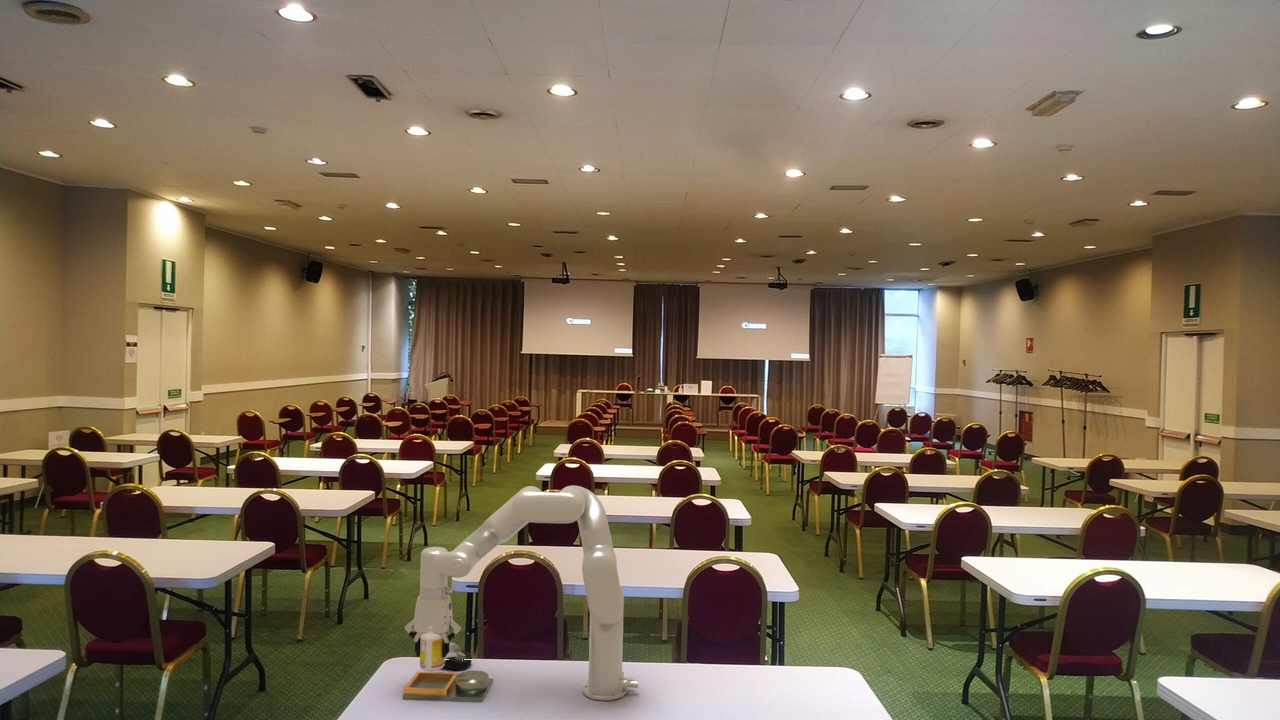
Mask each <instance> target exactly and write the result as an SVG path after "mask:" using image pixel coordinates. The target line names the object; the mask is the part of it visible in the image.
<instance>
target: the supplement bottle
mask: <svg viewBox="0 0 1280 720" xmlns="http://www.w3.org/2000/svg"><path fill="white" fill-rule="evenodd" d="M427 629H428V630H432V629H433V628H432V626H429V627H428V628H427ZM443 643H444V640H443V637H442V635H441V634H437V633H433V632H432V631H429V632H428V633H422V634H421V636H420V656H419V668H420V669H421V670H422V672H438V671H440V670H442V669H443V668H444V667H445V666H444V657H442V645H443Z"/></svg>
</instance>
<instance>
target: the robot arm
mask: <svg viewBox="0 0 1280 720" xmlns="http://www.w3.org/2000/svg"><path fill="white" fill-rule="evenodd" d="M576 521H577V524H578V528H579V530H578V531H579V535H580V540H581V544H582V545H581V546H582V552H583V554H582V555H583V557H582V563H581V572H582V578H583V579H582V580H583V586H584V590H585V595H586V600H587V606H588V610H589V637H588V641H589V642H588V644H589V645H588V647H589V650H588V651H589V652H588V681H587V682H586V683H584V685H583V686H582V693H583V694H584V695H585V696H586V697H587V698H590V699H592V700H595V701H602V702H603V701H606V702H607V701H615V700H619V699H621V698H623V697H624V696H625V695H627V693H628V688H631V689H638V683H639V682H638V680H635V678H633V677H626V676H624V672H623V647H624V644H623V643H624V642H623V641H624V638H623V637H624V609H625V606H624V604H625V603H624V602H625V596H624V591H623V588H622V586H621V583H620V579H619V578H620V577H619V574H618V573H619V572H618V566H617V564H618V563H617V562H618V561H617V556H616V553H615V549H614V545H613V541H612V535H611V530H610V526H609V521H608V516H607V513H606V510H605V506H604V505H603V504H602V502H601V500H600V498H599V497H598V496H597V495H596V494H594V492H592V490H590V489H588V488H585V487H582V486H581V485H567V486H565V487H564V488H562V489H561V490H560V491H559V492H558V491H557V492H556V491H555V492H548V491H546V492H545V491H544V492H543V491H542V490H541V489H540V488H539V487H537V486H533V485H528V486H525V487H523V488H521V489H520V490H519V491H518V492H517V493H515V495H513V496H512V497H511V498H510V499H508V501H506V502H505V503H503V505H502V506H501V507H499V508H498V509H496V510H495V511H494V513H492V514H491V515H490V516H489V517H488V518H486V520H485V521H484V522H483V523H482V524H481V525H480V526H479V527H478V528H477V529H475V530H474V531H473V532H472V533H471V534H470V535H469V536H467V537H466V538H465V539H464V540H463V541H462V542H461V543H459V545H457V546H455V548H454V549H453V550H451V551H448V549H447V548H445V547H443V546H442V547H441V546H429V547H426V548H424V549H423V550H422V551H421V553H420V571H419V572H420V575H419V577H420V578H419V580H420V581H419V595H418V596H417V599H416V603H415V609H414V618H413V619H412V620H411V621H409V622H408V623H407V624H406V625H405V626H404V630H405V631H406V632H407V634H408V635H409V636H410V637H411V638H412V640H413V642H414V652H415V653H416V654H415V655H416V657H420V636H421V634H422V633H428V632H429V631H432V632H433V633H437V634H441V635H442V637H443V640H444V643H443V645H442V657H446V655H447V654H448V653H449V650H450V642H451V640H452V639H453V638H455V636H456V635H457V634H458V633H459V632H460V631H461V630H462V627H461V626H460V625H459V624H458V623H457V622H456V621H455V620H454V619H453V617H454V616H453V605H452V604H453V603H452V598H451V596H450V595H449V594H452V593H453V588H451V587H449V585H448V580H449V579H448V577H451V578H458V579H459V578H464V577H466V576H468V575H469V574H470V573H471V571H472V570H473V569H474V567H475V566H476V564H477V563H479V562H480V561H481V560H482V559H483V558H484V557H486V556H487V555H488V554H489V553H490V552H492V550H493V549H495V548H497V546H499V545H500V544H503V543H506V542H507V541H509V540H510V539H512V538H513V537H514V536H515V535H516V534H517V533H519V531H520V530H522V529H523V528H524V527H525V526H527V525H528V524H529V523H534V524H535V523H536V524H572V523H575V522H576ZM429 626H432V628H433V629H432V630H428V629H427V628H428V627H429ZM450 629H453V631H452V632H451V633H450V631H449V630H450Z"/></svg>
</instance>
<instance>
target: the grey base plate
mask: <svg viewBox="0 0 1280 720" xmlns="http://www.w3.org/2000/svg"><path fill="white" fill-rule="evenodd" d="M493 683H494V678H489V674H488V672H486V671H484V670H483V671H482V670H475V669H474V670H466V671H465V670H464V671H463V672H460V673H459V672H446V671H444V672H442V671H416V673H415V674H414V675H413V677H412V678H411V679H410V680H409V681H408V683H407V684H406V685H405V686H404V687H403V694H402V700H405V701H406V700H410V701H411V700H412V701H432V702H433V701H438V702H439V701H440V702H461V703H462V702H464V703H465V702H466V703H468V702H470V703H483V701H484V700H483V699H485V698H486V696H487V694H488V692H489V691H488V690H490V689H491V687H492V684H493ZM484 697H485V698H484Z"/></svg>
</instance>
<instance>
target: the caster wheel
mask: <svg viewBox="0 0 1280 720" xmlns="http://www.w3.org/2000/svg"><path fill="white" fill-rule="evenodd" d="M444 659H449V660H444V666H443V667H447V668H449V669H452V670H454V671H455V670H456V671H464V670H463V669H465V670H467V669H466V668H468V667H469V666H470V667H471V663H472V660H464V659H473V657H472V655H471V654H470V653H469V652H467V651H465V650H463V649H461V647H460V645H459V644H458V643H456V642H453V641H450V650H449V653H448V654H447V655H446V657H444ZM462 660H463V661H462ZM470 667H469V668H470ZM469 668H468V669H469Z"/></svg>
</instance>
